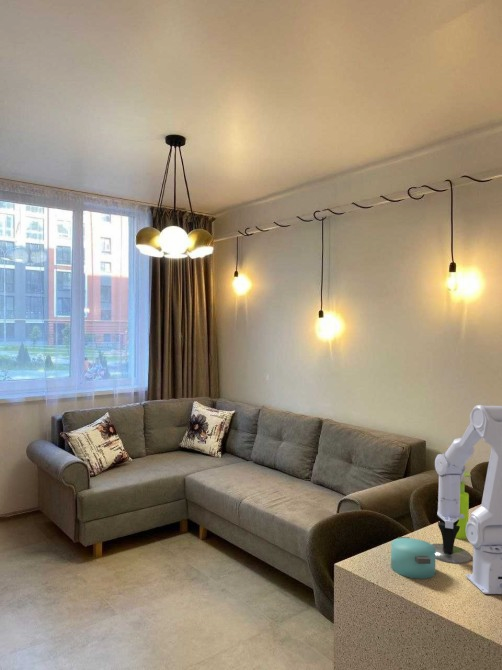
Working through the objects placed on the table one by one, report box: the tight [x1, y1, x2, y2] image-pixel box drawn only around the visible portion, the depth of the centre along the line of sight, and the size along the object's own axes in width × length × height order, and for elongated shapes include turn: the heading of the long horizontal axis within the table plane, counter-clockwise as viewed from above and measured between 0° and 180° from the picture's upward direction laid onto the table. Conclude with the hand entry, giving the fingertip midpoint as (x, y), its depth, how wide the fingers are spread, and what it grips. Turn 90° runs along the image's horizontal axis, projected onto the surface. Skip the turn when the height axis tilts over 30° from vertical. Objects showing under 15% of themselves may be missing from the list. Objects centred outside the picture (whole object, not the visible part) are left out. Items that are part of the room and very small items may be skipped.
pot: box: [390, 536, 436, 580], centre depth 131 cm, size 14×11×6 cm
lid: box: [431, 543, 472, 564], centre depth 142 cm, size 12×12×4 cm
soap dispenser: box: [455, 471, 472, 540], centre depth 156 cm, size 6×7×20 cm
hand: (448, 546), depth 142 cm, fingers open, 4 cm apart
